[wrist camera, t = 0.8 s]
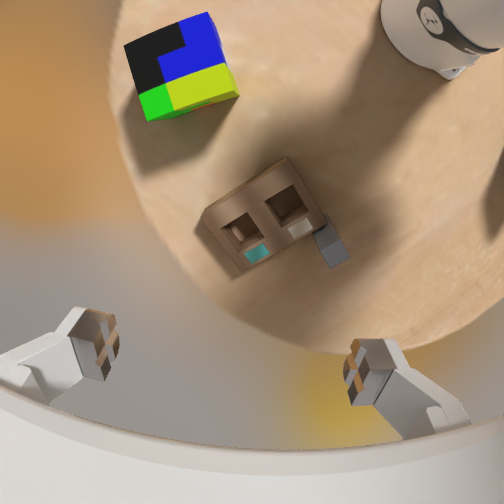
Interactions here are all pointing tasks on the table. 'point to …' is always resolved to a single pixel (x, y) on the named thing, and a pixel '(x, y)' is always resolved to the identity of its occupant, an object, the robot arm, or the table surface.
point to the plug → (330, 244)
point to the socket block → (263, 216)
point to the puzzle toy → (180, 68)
